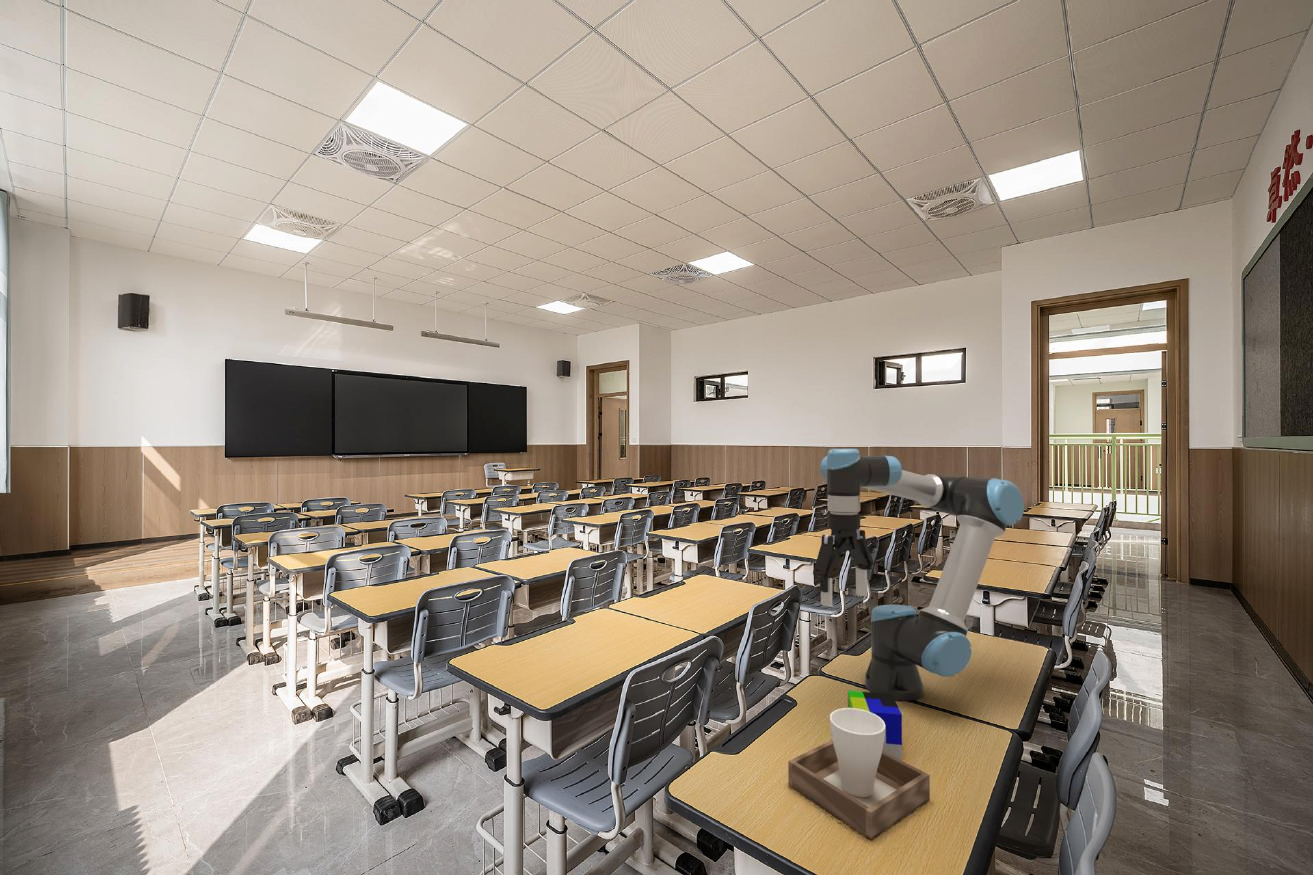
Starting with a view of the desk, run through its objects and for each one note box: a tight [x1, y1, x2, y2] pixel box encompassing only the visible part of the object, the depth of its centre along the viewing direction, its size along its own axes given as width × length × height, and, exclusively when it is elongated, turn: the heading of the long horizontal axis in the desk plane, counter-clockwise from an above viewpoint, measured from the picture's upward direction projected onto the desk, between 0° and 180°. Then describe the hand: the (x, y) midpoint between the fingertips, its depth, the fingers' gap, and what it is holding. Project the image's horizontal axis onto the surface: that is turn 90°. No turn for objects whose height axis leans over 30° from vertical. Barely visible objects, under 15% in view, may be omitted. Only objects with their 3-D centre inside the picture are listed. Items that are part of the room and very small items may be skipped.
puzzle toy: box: [847, 690, 903, 761], centre depth 128 cm, size 10×10×10 cm
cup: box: [829, 707, 885, 798], centre depth 111 cm, size 10×10×14 cm
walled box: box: [787, 739, 931, 842], centre depth 111 cm, size 19×19×5 cm
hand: (844, 600), depth 134 cm, fingers open, 13 cm apart
